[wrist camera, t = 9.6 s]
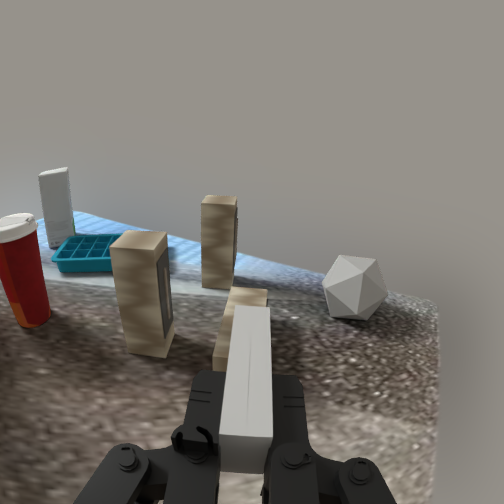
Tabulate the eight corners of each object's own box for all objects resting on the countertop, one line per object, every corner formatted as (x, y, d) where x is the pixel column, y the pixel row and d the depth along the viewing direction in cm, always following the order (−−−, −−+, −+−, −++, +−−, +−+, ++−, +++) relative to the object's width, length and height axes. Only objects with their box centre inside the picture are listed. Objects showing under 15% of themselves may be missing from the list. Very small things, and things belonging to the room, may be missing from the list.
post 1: (128, 352, 32) (109, 246, 27) (140, 329, 36) (126, 230, 31) (168, 358, 32) (156, 250, 27) (177, 333, 36) (169, 232, 31)
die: (374, 304, 46) (349, 245, 46) (407, 307, 37) (380, 237, 37) (329, 331, 45) (302, 269, 45) (357, 341, 36) (325, 267, 36)
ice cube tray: (70, 249, 57) (68, 236, 56) (164, 245, 61) (163, 231, 60) (52, 276, 46) (48, 261, 45) (161, 273, 51) (160, 256, 50)
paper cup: (62, 300, 40) (43, 209, 34) (51, 331, 33) (24, 228, 28) (19, 303, 37) (-3, 215, 32) (4, 333, 31) (-27, 235, 25)
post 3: (212, 356, 28) (231, 286, 39) (213, 387, 29) (230, 315, 41) (265, 361, 27) (269, 289, 39) (261, 392, 29) (267, 318, 41)
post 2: (201, 287, 47) (201, 203, 42) (206, 273, 51) (206, 195, 46) (233, 289, 47) (237, 204, 42) (235, 275, 51) (239, 196, 46)
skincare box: (75, 244, 58) (67, 171, 52) (47, 249, 55) (36, 176, 49) (75, 231, 65) (69, 165, 59) (50, 236, 62) (42, 170, 56)
